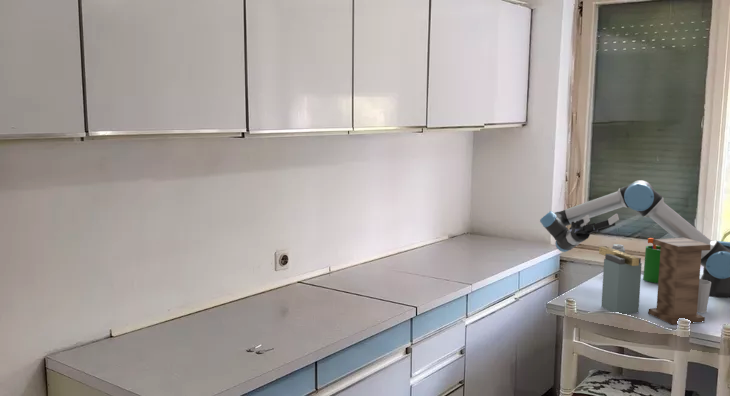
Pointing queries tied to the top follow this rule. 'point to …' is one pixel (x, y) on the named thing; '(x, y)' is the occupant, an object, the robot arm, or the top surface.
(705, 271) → the robot arm
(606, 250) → the brass bar
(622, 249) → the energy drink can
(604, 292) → the block
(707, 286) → the cup
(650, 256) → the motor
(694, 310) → the walnut stand
